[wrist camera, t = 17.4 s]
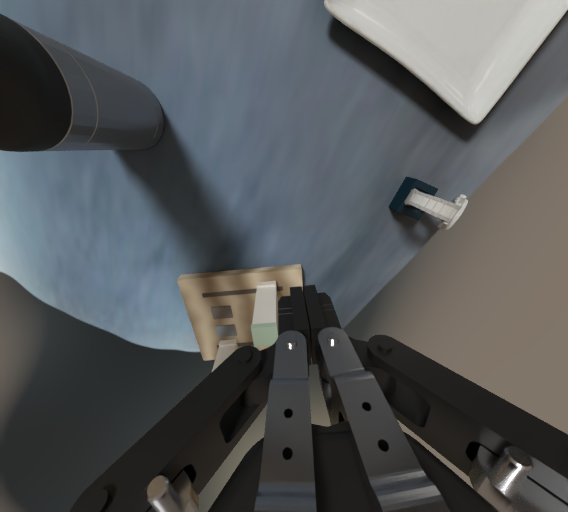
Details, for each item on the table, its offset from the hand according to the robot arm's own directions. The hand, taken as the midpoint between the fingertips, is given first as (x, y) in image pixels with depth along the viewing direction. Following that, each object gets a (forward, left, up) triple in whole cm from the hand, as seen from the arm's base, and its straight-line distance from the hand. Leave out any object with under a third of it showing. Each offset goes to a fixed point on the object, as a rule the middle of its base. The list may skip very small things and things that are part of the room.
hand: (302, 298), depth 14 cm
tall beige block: (+1, -18, -26) cm, 32 cm away
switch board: (-1, -26, -29) cm, 39 cm away
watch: (+21, +6, -29) cm, 36 cm away
